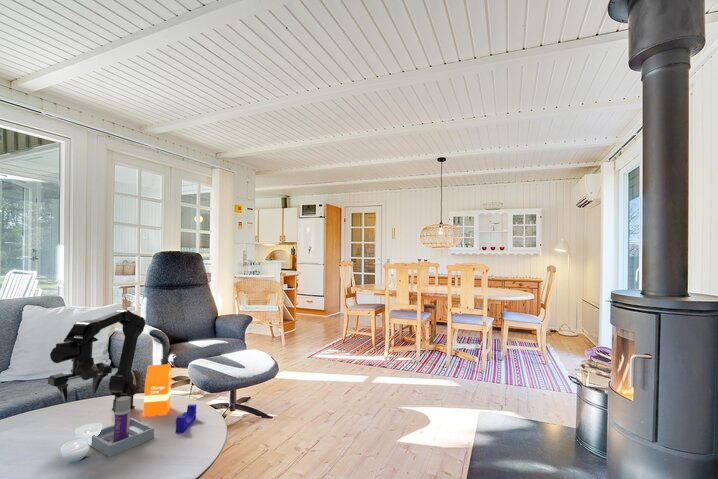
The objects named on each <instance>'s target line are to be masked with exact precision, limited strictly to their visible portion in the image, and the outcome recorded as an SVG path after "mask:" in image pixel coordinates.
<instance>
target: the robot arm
mask: <svg viewBox="0 0 718 479" xmlns="http://www.w3.org/2000/svg"><path fill="white" fill-rule="evenodd" d="M146 321H147V320H146V319H145V318H144V317H142V316H140V315H138V314H135V313H134V312H132V311H131V310H129V309H117V310H116V311H114V312H110V313H108V314H106V315H103V316H101V317H98V318H96V319H87V320H82V321H81V320H80V321H77V322H75V323H74V324H73V325H72V327H71V329H70V331H69V332H68V333H67V335H66V336H65V338H64V339H63V341H62V342H57V343H55V347H53V348H52V350H51V352H50V353H49V356H50V361H51V362H53V363H54V364H60V363H63V362H66V361H71V362H72V368H71V369H70V374H65V373H62V372H61V373H57V374H52V375H50V376H49V377H48V378H47V384H48V385H50V386H52V387H56V388H57V389H58V391H59V393H60V395H61V397H62V399H63V401H64V402H65V403H66V402H67V401H68V387H69V383H68V382H69V380H74V379H79V378H81V379H82V380H83V381H88V380H90V379H92V394H93V395H94V394H96V392H97V391H98V388H99V386H100V384H101V382H102V380H103V379H104V378H105V377H107V376H109V374H112V372H113V367H112V366H111V365H109V364H107V363H104V362H98V363H95V362H94V361H95V359H94V357H93V346H94V342H98V340H99V339H98V338H96V337H95V336H97V335H98V334H100V332H101V331H102V330H103V329H105V328H107V327H108V328H109V327H110V326H112V325H115V324H117V323H119V324H120V325H122V329H121V330H122V333H123V336H124V339H123V343H122V349H121V352H120V358H119V363H118V367H117V371H116V372H115V374H114V375H110V378H109V381H108V382H109V383H108V384H107V385H108V390H109V391H110V395H111V396H114V399H113V402H112V408H111V410H113V411H115V409H116V399H117V398H119V397H123V396H130V397H131V407H130V410H132V409H135V407H136V406H135V405H134V396H135V395H136V394H137V393H138V390H139V388H138V387H137V385H136V384H134V375H133V373H132V367H133V363H134V358H135V354H136V348H137V344H138V340H139V339H138V338H139V337H140V335H141V334H142V333H143V332H144V330H145V326H146Z"/></svg>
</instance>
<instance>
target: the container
mask: <svg viewBox="0 0 718 479" xmlns="http://www.w3.org/2000/svg"><path fill="white" fill-rule="evenodd" d="M130 407H131V397H130V396H123V397H119V398H117V399H116V409H115V412H114V424H113V425H114V438H113V443H116V442H118V441H121V440H123V439H126V438H128V437H130V433H129V428H130V419H131V409H130Z"/></svg>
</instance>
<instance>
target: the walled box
mask: <svg viewBox="0 0 718 479" xmlns="http://www.w3.org/2000/svg"><path fill="white" fill-rule="evenodd" d="M101 429H102V430H101V432H100V434H99V435H98V436H95V435H93V436H92V446H91V448H94V449H95V450H96V451H98V452H101V453H102V454H103V455H105V456H107V457H112V456H114V455H117V454H119V453H122V452H123V451H124V452H125V451H127V450H128V449H130V448H133V447H135V446H138V445H140V444H142V443H144V442H147V441H149V440H152V439H154V437H155V428H154V427H153V426H151V425H149V424H146V423H144V422H142V421H140V420H138V419H135V418H133V417H130V428H129V435H131V436H129V437H128V438H126V439H123V440H121V441H118V442H116V443H114V442H113V443H111V442H109V440H112V439H114V424H112V425H109V426H106V427H103V428H101Z"/></svg>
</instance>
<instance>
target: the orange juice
mask: <svg viewBox="0 0 718 479" xmlns="http://www.w3.org/2000/svg"><path fill="white" fill-rule="evenodd" d="M146 370H147V371H146V374H145V375H146V376H145V381H144V396H143V414H142V415H143V418H146V417H145V416H149V417H156V416H155V415H159V416H167V415H168V413H169V411H170V408H171V396H172V394H171V393H172V374H173V373H172V367H171V363H170V364H169V363H167V364H153V365H147V368H146ZM167 412H168V413H167Z"/></svg>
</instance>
